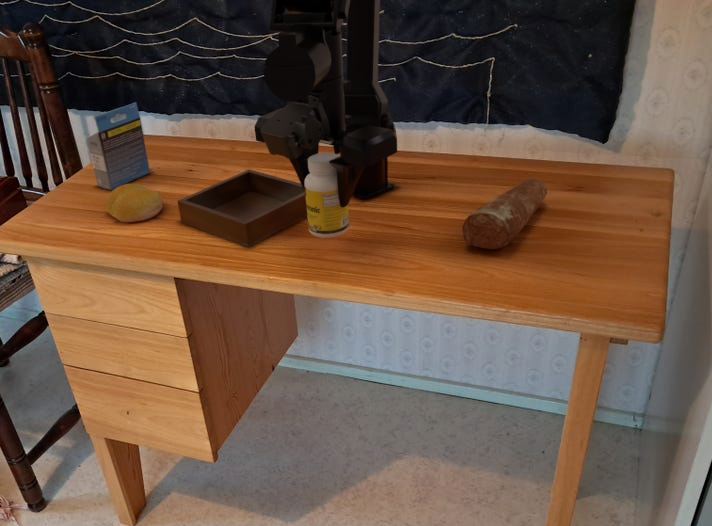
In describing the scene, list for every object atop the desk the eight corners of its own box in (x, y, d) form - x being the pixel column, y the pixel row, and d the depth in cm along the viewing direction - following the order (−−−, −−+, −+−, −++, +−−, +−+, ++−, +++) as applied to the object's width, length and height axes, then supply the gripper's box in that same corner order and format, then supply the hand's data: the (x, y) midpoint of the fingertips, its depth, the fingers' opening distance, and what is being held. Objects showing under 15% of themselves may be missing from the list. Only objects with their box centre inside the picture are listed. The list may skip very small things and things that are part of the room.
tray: (251, 190, 118) (248, 169, 116) (319, 210, 110) (317, 188, 108) (181, 222, 110) (177, 200, 108) (248, 247, 101) (245, 223, 99)
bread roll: (128, 228, 110) (122, 203, 107) (100, 213, 115) (94, 188, 113) (175, 211, 114) (170, 186, 111) (145, 196, 120) (140, 172, 117)
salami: (458, 251, 95) (460, 210, 92) (517, 198, 108) (521, 161, 104) (504, 261, 92) (507, 220, 89) (560, 205, 104) (565, 167, 101)
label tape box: (137, 169, 130) (121, 98, 123) (152, 173, 128) (137, 101, 121) (97, 186, 125) (78, 113, 118) (112, 191, 123) (94, 116, 116)
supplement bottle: (303, 226, 99) (296, 155, 93) (341, 218, 100) (337, 147, 94) (315, 242, 95) (309, 168, 89) (355, 234, 96) (352, 160, 90)
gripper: (214, 83, 87) (232, 207, 96) (334, 105, 76) (342, 243, 85) (280, 61, 93) (291, 179, 102) (399, 78, 82) (400, 209, 91)
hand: (327, 201), depth 95 cm, fingers closed on supplement bottle, 5 cm apart
